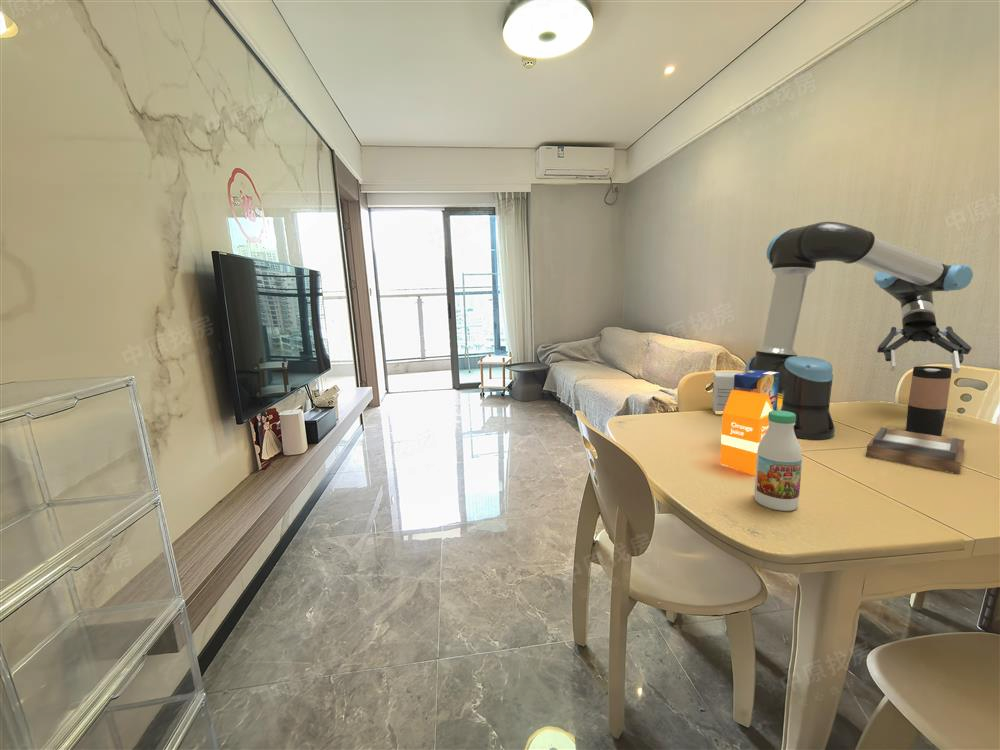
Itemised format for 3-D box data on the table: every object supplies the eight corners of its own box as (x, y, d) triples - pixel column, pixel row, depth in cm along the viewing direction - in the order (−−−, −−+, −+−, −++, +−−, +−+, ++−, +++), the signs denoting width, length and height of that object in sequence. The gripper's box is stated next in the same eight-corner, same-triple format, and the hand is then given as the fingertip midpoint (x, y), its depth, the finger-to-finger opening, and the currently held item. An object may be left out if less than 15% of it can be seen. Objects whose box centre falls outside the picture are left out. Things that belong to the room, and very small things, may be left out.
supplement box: (711, 408, 153) (713, 371, 150) (738, 410, 149) (740, 372, 146) (714, 415, 144) (715, 376, 142) (742, 416, 141) (744, 376, 138)
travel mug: (924, 429, 118) (933, 365, 115) (950, 438, 111) (961, 369, 107) (897, 430, 119) (905, 366, 116) (921, 438, 112) (930, 370, 108)
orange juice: (755, 476, 95) (760, 397, 91) (719, 465, 102) (723, 391, 99) (771, 467, 99) (776, 392, 95) (735, 457, 106) (739, 387, 103)
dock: (865, 456, 102) (868, 438, 101) (880, 434, 116) (882, 418, 115) (959, 474, 90) (962, 453, 89) (963, 447, 104) (966, 429, 103)
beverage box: (774, 446, 112) (779, 372, 109) (756, 455, 107) (761, 377, 103) (749, 440, 118) (753, 369, 114) (730, 448, 112) (734, 374, 108)
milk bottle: (745, 495, 86) (750, 409, 82) (778, 492, 86) (784, 406, 83) (772, 513, 78) (779, 419, 75) (808, 510, 79) (816, 416, 75)
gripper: (971, 324, 123) (981, 379, 114) (865, 325, 138) (866, 374, 129) (980, 308, 118) (991, 364, 109) (869, 311, 133) (870, 360, 124)
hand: (923, 369), depth 119 cm, fingers open, 13 cm apart
